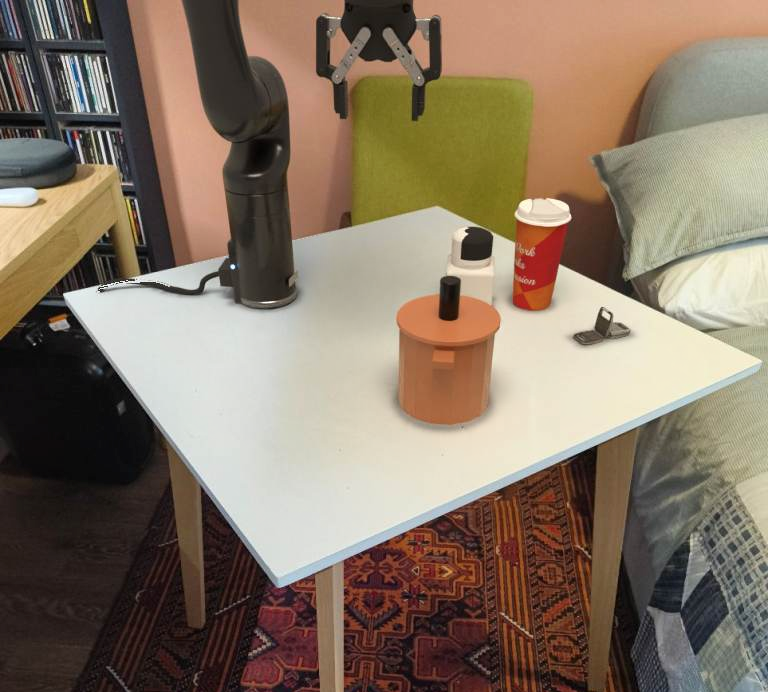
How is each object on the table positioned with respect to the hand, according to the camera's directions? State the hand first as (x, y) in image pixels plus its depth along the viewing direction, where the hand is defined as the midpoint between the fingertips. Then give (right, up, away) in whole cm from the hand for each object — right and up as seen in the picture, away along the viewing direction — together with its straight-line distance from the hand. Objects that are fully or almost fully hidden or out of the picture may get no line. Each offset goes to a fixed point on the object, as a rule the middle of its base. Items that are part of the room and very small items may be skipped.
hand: (379, 118), depth 91 cm
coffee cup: (+24, -14, +30) cm, 41 cm away
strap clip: (+33, -21, +22) cm, 45 cm away
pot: (+8, -33, +8) cm, 35 cm away
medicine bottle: (+14, -15, +29) cm, 35 cm away
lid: (+8, -24, +1) cm, 25 cm away
